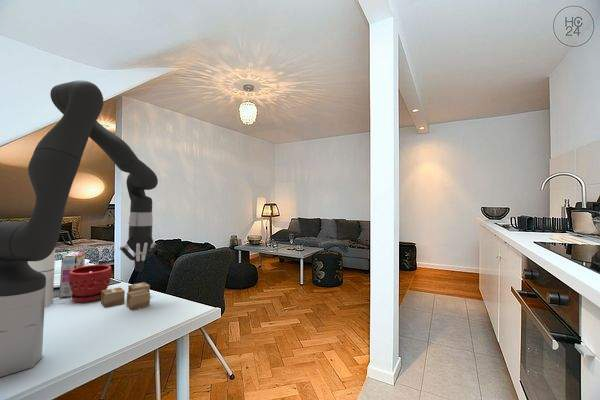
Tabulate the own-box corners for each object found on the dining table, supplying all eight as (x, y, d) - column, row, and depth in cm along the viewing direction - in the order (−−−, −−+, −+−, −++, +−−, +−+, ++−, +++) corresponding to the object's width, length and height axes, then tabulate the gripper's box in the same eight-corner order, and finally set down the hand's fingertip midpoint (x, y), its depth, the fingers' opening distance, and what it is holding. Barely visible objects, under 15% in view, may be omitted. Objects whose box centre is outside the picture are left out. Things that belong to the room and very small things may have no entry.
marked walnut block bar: (124, 304, 99) (124, 290, 99) (104, 308, 95) (105, 293, 95) (119, 299, 103) (120, 286, 103) (100, 303, 99) (101, 289, 99)
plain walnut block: (149, 306, 97) (150, 293, 98) (130, 311, 93) (131, 296, 93) (144, 302, 102) (145, 289, 102) (126, 306, 97) (127, 292, 97)
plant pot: (67, 297, 104) (69, 267, 104) (108, 291, 113) (109, 263, 113) (67, 307, 94) (69, 274, 95) (112, 299, 103) (113, 269, 103)
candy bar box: (74, 297, 105) (76, 255, 105) (58, 298, 103) (60, 256, 103) (84, 288, 115) (85, 251, 115) (69, 289, 113) (71, 251, 113)
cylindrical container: (19, 309, 92) (23, 237, 92) (34, 301, 98) (37, 235, 99) (44, 307, 94) (48, 237, 94) (57, 300, 100) (60, 235, 101)
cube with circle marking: (149, 297, 107) (149, 284, 107) (132, 301, 102) (132, 288, 102) (144, 294, 111) (144, 281, 111) (127, 297, 106) (128, 284, 106)
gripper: (122, 225, 91) (121, 276, 90) (163, 224, 100) (161, 269, 100) (117, 224, 96) (115, 271, 96) (156, 222, 105) (154, 266, 105)
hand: (139, 270), depth 98 cm, fingers closed
